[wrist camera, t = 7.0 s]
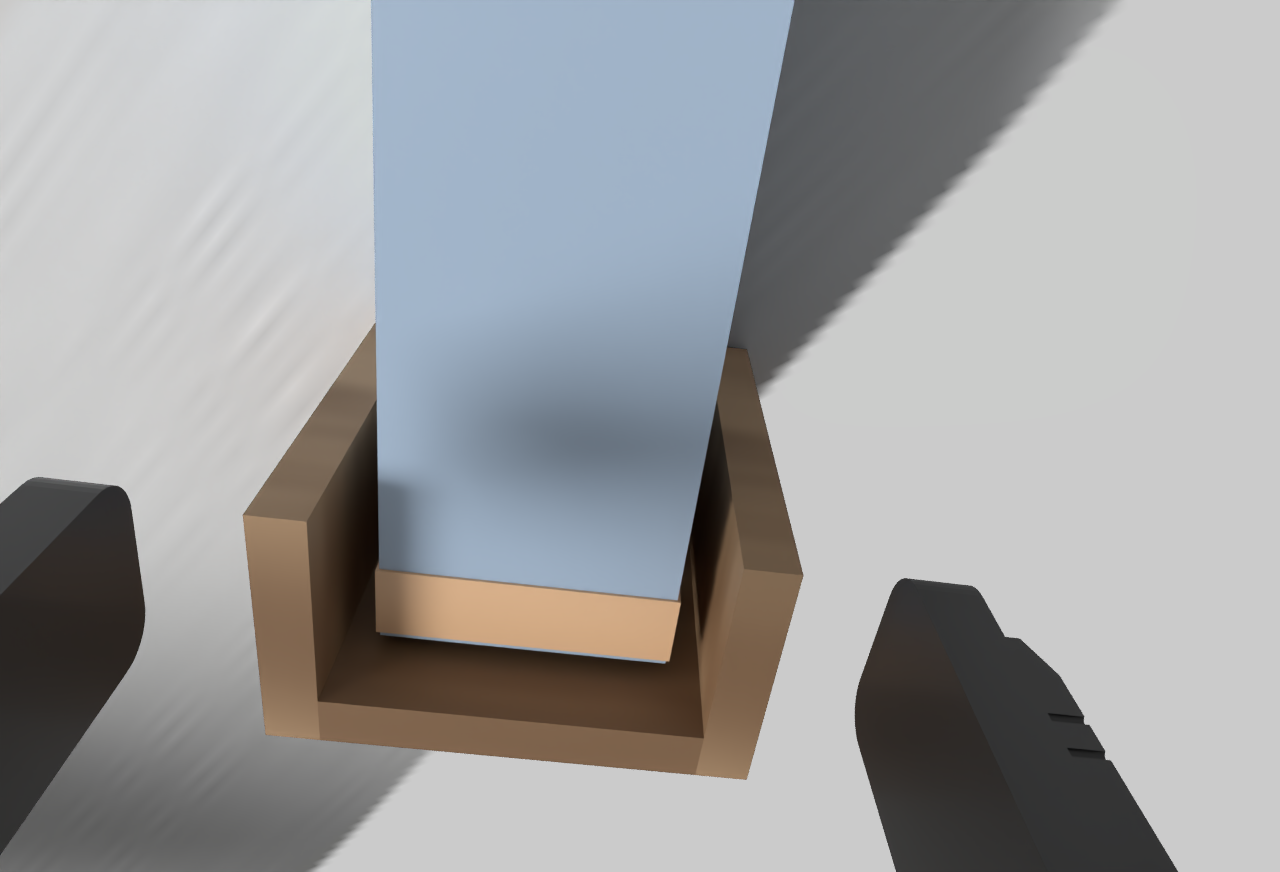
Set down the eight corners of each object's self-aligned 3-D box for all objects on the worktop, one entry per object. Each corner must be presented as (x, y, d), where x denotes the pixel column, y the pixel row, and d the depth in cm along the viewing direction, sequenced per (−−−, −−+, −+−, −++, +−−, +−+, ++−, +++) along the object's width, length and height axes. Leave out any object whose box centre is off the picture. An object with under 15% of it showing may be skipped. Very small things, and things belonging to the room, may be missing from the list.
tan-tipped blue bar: (661, 466, 20) (668, 666, 14) (449, 442, 19) (376, 637, 14) (834, -565, 12) (993, -980, 6) (484, -632, 11) (346, -1121, 6)
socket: (713, 510, 20) (746, 779, 14) (388, 473, 20) (265, 734, 13) (746, 349, 18) (803, 575, 12) (387, 304, 18) (242, 514, 11)
